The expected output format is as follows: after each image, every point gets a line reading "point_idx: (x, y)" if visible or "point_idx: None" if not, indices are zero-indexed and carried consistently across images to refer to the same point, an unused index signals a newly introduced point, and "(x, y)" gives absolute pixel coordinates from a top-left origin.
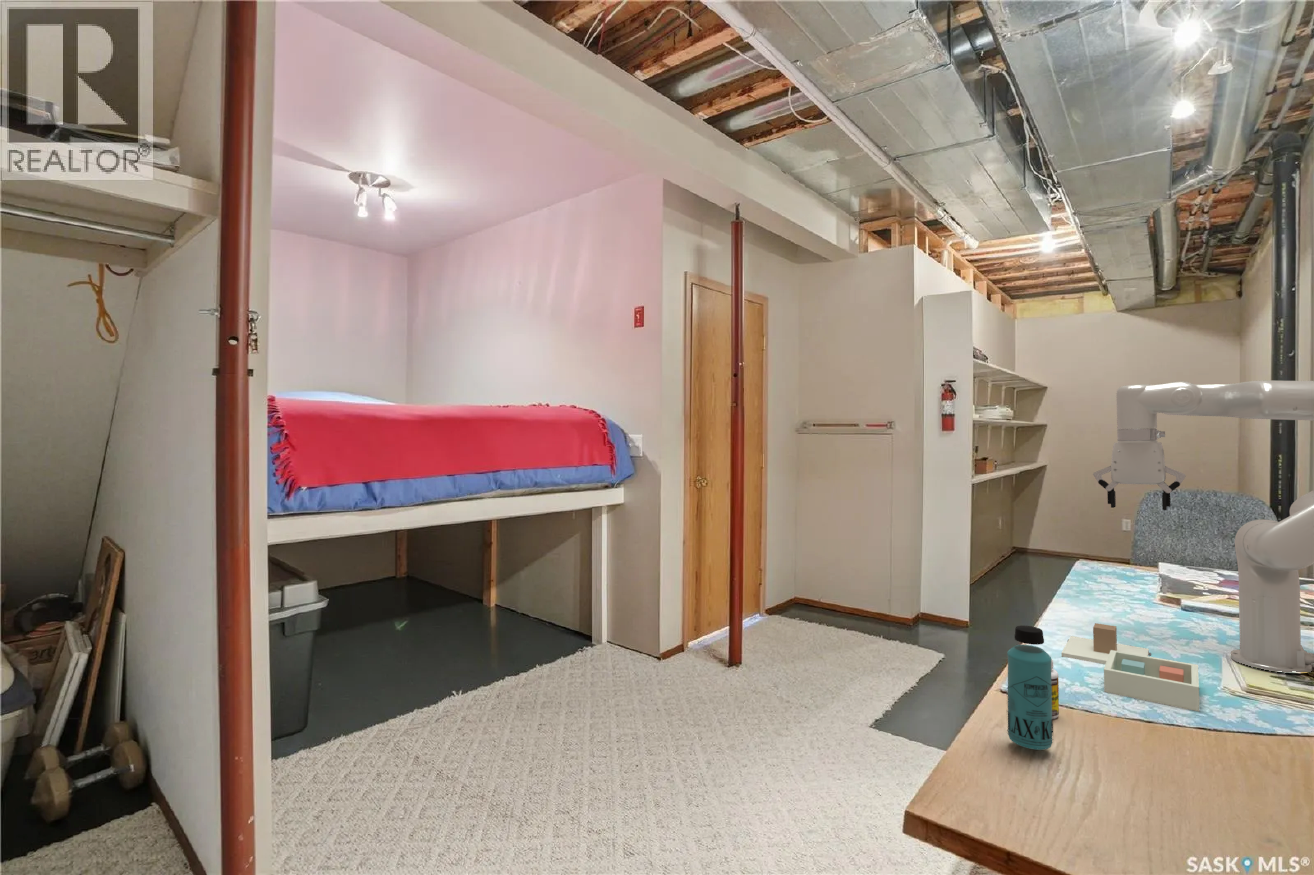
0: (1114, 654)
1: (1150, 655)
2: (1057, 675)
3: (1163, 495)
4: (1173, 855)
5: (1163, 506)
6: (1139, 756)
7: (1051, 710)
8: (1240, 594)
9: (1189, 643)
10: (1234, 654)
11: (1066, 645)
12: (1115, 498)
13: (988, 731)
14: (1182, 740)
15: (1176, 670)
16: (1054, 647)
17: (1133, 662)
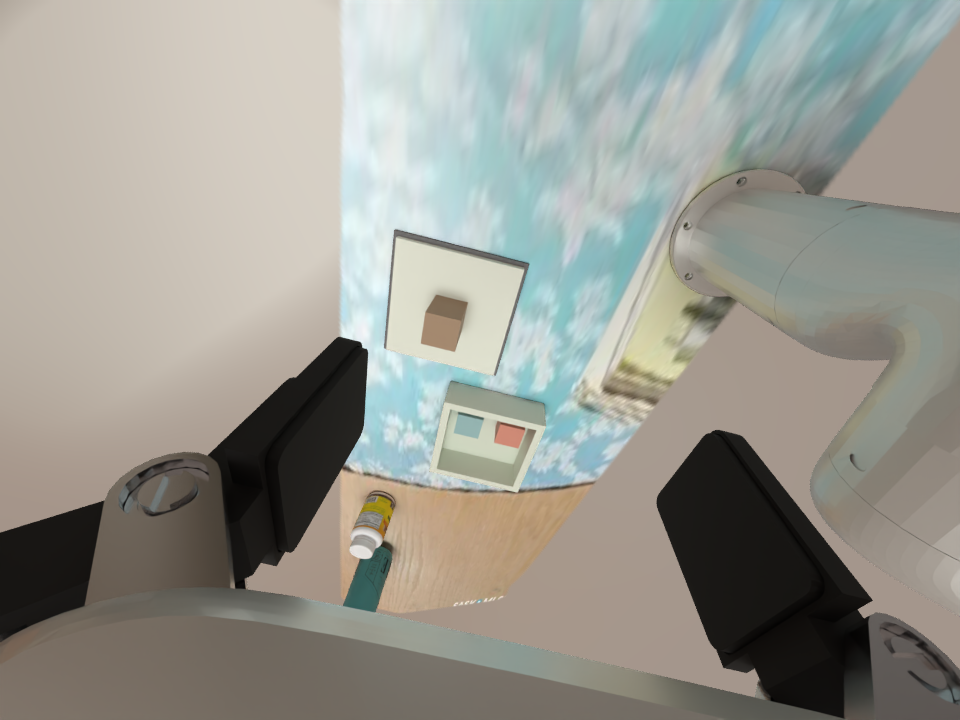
0: (446, 419)
1: (523, 282)
2: (381, 543)
3: (713, 635)
4: (449, 603)
5: (668, 527)
6: (449, 539)
7: (383, 586)
8: (772, 281)
9: (643, 124)
10: (680, 235)
11: (391, 308)
12: (331, 394)
13: (350, 532)
14: (485, 513)
15: (515, 435)
16: (375, 286)
17: (469, 424)
